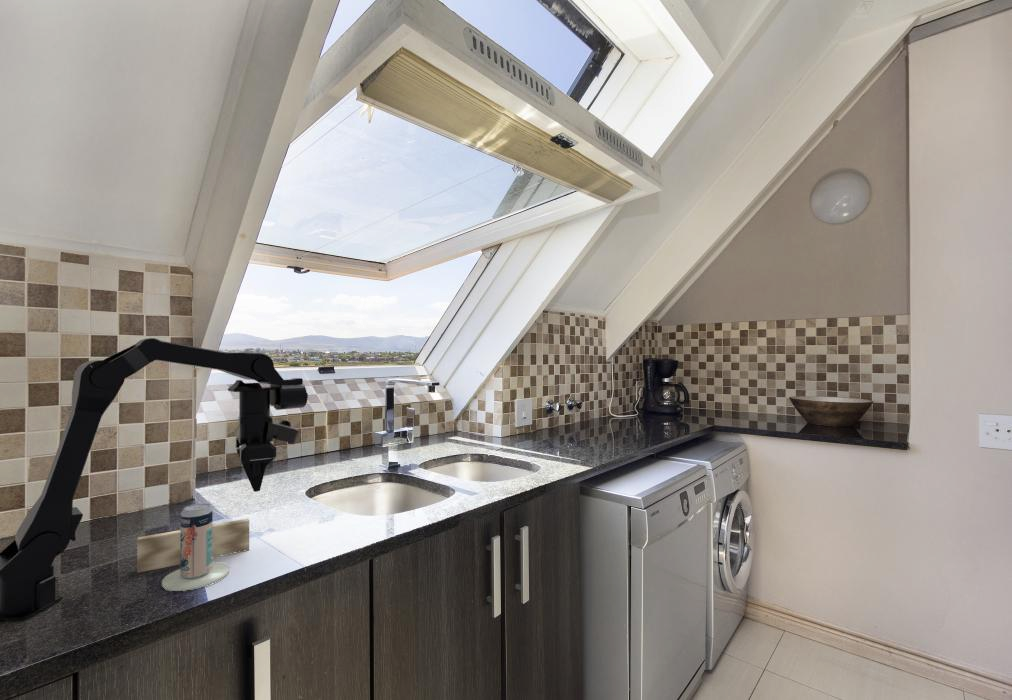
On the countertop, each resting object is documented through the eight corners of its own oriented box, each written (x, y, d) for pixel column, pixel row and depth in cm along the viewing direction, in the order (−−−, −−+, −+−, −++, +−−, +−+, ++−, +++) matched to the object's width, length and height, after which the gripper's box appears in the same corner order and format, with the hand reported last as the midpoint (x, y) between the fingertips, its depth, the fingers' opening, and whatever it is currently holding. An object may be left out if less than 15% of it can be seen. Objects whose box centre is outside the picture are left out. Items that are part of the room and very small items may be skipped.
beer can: (177, 573, 84) (178, 506, 84) (208, 565, 87) (209, 500, 87) (182, 583, 80) (183, 513, 80) (214, 574, 84) (215, 507, 84)
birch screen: (137, 572, 86) (137, 539, 86) (138, 569, 87) (138, 537, 87) (249, 550, 96) (249, 520, 96) (248, 547, 97) (248, 518, 97)
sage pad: (147, 591, 79) (147, 588, 79) (187, 565, 89) (187, 562, 89) (206, 591, 79) (206, 588, 79) (240, 565, 89) (240, 561, 89)
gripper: (303, 413, 96) (303, 490, 96) (289, 405, 112) (289, 471, 112) (241, 418, 90) (241, 499, 90) (235, 408, 106) (235, 478, 106)
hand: (254, 485), depth 99 cm, fingers open, 9 cm apart
